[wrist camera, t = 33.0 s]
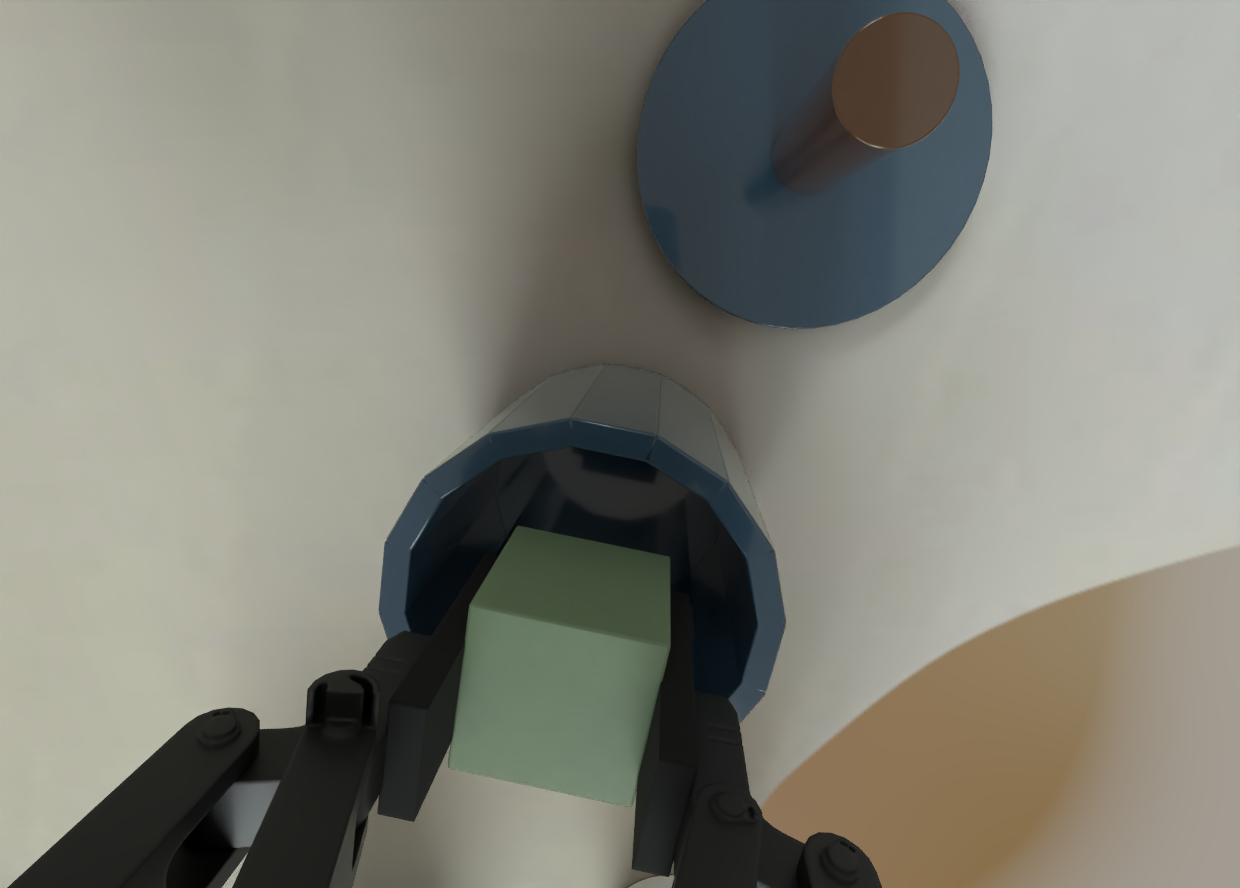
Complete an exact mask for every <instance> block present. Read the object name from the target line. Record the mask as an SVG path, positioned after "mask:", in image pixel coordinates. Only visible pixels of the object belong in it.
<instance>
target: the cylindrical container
mask: <svg viewBox="0 0 1240 888" xmlns="http://www.w3.org/2000/svg"><path fill="white" fill-rule="evenodd" d="M673 880H674V875H670V876H669V877H665V876H656V877H651V878H647V879H644V880H642V881H639V882H637V883H635V884H633V885H632V886H630V887H629V888H672V884H673Z"/></svg>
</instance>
